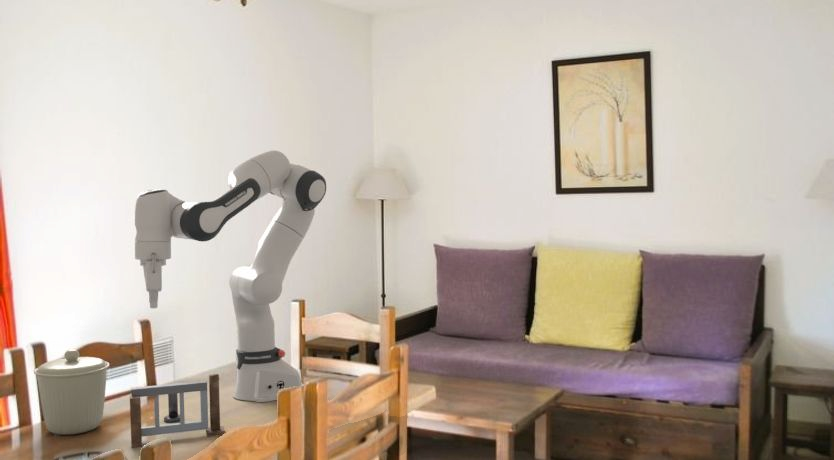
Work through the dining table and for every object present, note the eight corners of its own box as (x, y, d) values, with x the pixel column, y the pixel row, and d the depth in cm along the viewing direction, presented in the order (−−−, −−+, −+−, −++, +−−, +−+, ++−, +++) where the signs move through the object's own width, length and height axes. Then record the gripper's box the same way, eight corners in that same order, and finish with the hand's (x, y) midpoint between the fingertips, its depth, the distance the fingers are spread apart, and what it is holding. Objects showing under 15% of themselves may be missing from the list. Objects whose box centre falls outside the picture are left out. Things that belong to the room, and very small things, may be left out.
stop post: (182, 416, 217) (181, 384, 217) (183, 421, 212) (182, 388, 212) (163, 418, 215) (162, 385, 215) (164, 423, 211) (163, 390, 210)
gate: (207, 427, 202) (206, 380, 201) (208, 429, 200) (207, 382, 199) (132, 435, 195) (131, 387, 195) (132, 438, 194) (131, 389, 193)
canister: (34, 444, 195) (31, 359, 194) (37, 424, 211) (34, 346, 210) (113, 434, 202) (110, 352, 201) (110, 416, 218) (107, 340, 217)
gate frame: (223, 429, 204) (221, 372, 204) (226, 436, 199) (224, 377, 198) (131, 440, 197) (129, 380, 196) (131, 447, 191) (129, 386, 190)
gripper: (167, 254, 195) (167, 310, 195) (164, 249, 214) (164, 300, 215) (140, 255, 193) (140, 311, 193) (139, 250, 212) (140, 301, 213)
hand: (153, 305), depth 204 cm, fingers open, 8 cm apart
